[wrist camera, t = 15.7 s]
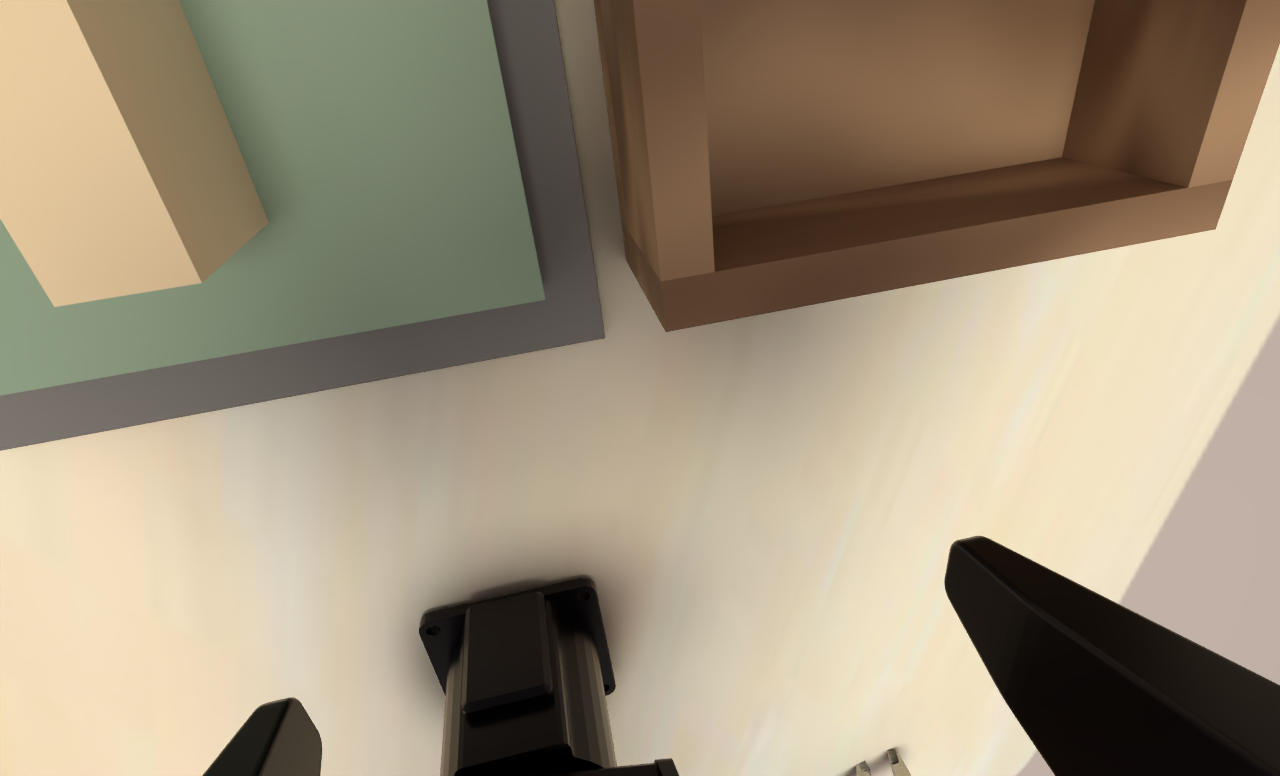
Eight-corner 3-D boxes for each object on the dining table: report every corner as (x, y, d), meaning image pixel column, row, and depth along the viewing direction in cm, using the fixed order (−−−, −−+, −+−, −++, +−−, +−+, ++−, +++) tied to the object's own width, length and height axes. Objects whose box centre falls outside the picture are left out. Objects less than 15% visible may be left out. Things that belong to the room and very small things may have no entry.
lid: (542, 283, 18) (558, 370, 14) (-8, 378, 16) (-193, 511, 12) (422, -329, 12) (381, -535, 8) (-468, -271, 10) (-1190, -490, 6)
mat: (602, 329, 20) (605, 338, 19) (-8, 442, 18) (-23, 454, 17) (477, -480, 12) (477, -502, 11) (-667, -431, 10) (-732, -456, 9)
